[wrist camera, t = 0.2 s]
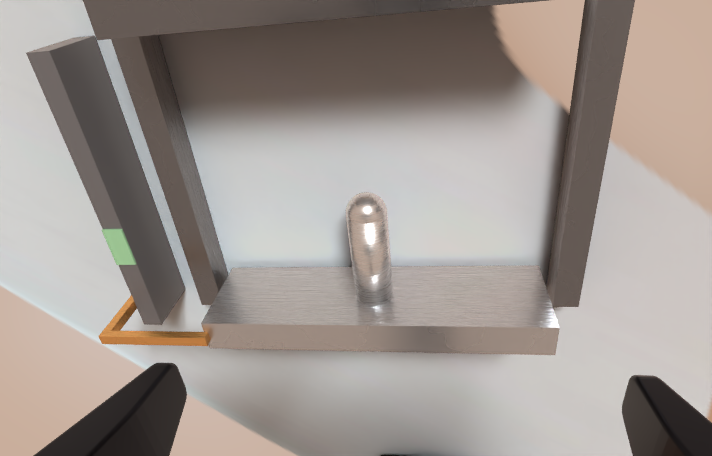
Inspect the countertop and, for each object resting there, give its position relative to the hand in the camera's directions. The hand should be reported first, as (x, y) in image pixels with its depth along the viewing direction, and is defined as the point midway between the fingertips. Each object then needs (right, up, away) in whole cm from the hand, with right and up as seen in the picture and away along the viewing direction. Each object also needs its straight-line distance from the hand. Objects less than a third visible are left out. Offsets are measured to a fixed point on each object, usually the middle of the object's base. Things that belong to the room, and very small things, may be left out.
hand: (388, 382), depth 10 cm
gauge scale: (-12, +5, +15) cm, 20 cm away
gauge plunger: (-2, +3, +15) cm, 15 cm away
